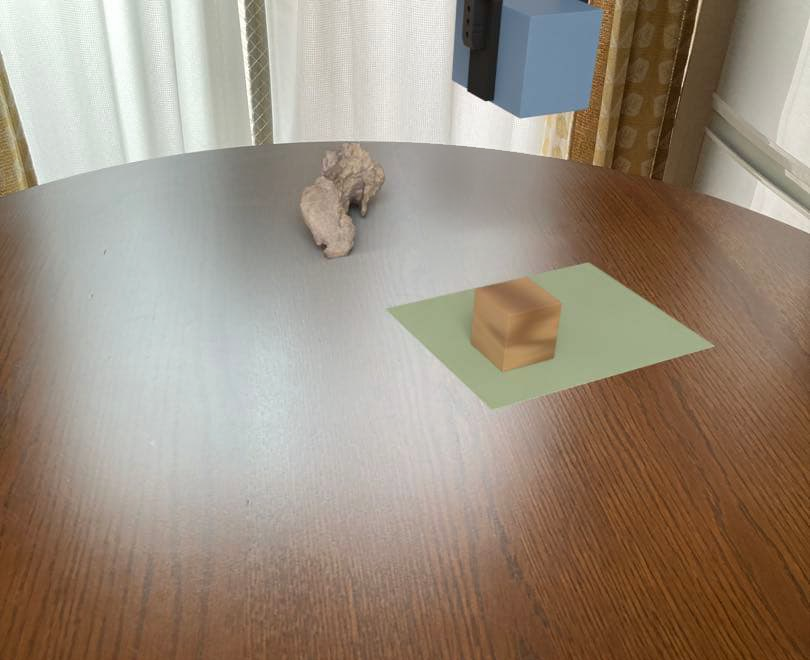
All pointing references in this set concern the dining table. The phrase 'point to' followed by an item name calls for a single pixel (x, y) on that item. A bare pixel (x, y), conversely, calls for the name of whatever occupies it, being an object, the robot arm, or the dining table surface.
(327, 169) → the rock
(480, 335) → the cork block
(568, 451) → the dining table surface
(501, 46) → the sponge
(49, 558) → the dining table surface
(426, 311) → the tray
